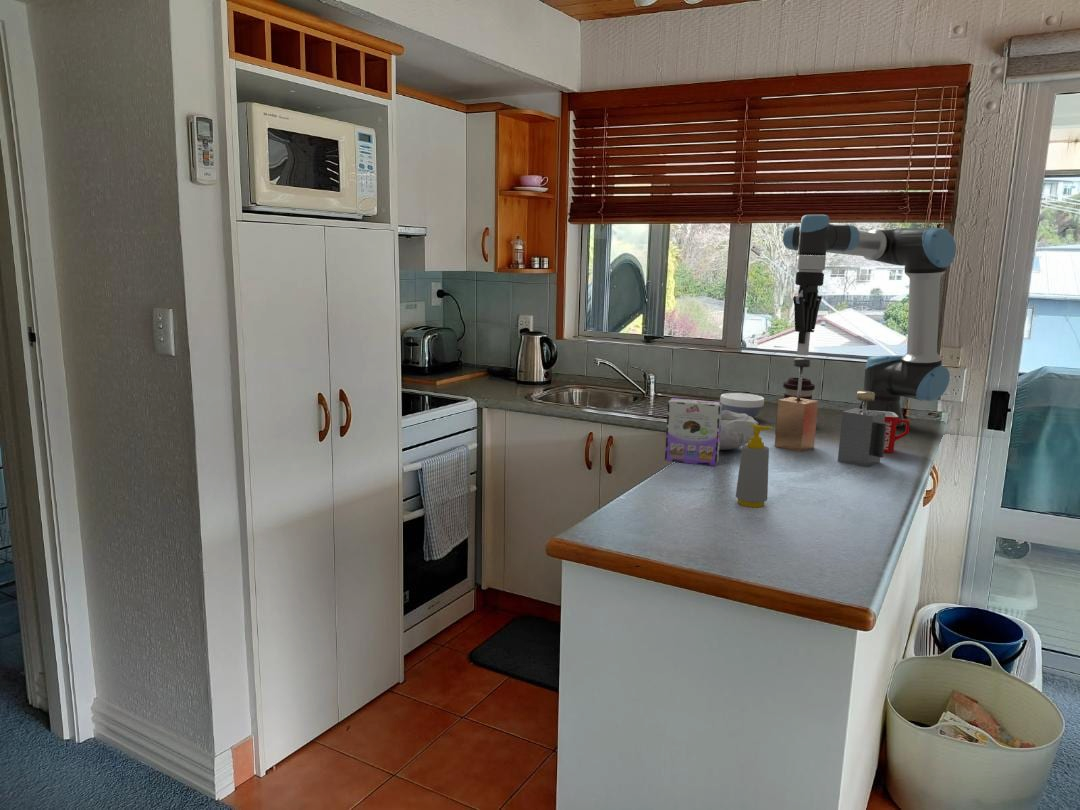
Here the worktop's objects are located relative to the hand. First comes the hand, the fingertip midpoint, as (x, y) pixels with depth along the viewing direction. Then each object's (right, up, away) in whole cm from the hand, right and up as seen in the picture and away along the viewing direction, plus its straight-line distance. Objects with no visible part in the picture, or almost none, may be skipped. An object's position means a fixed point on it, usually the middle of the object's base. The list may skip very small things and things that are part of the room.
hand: (802, 354), depth 229 cm
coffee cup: (+10, -21, +39) cm, 45 cm away
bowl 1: (-7, -19, +44) cm, 48 cm away
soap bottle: (-28, -37, -50) cm, 68 cm away
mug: (+25, -28, +5) cm, 38 cm away
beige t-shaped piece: (+12, -28, -10) cm, 32 cm away
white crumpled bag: (-23, -27, +1) cm, 36 cm away
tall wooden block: (-1, -27, +5) cm, 27 cm away
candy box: (-35, -30, -15) cm, 48 cm away
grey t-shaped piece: (0, -18, +3) cm, 18 cm away
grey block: (+12, -30, -10) cm, 34 cm away
